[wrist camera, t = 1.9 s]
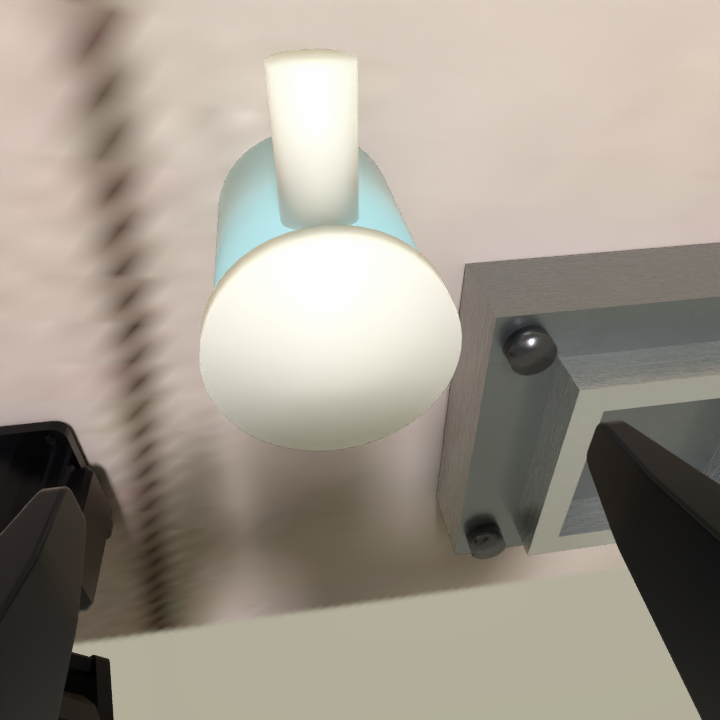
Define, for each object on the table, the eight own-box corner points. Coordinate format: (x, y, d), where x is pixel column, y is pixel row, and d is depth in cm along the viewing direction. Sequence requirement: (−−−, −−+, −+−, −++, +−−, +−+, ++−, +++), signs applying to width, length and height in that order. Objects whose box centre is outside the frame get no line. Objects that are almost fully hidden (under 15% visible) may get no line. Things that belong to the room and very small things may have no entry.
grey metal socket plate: (436, 496, 27) (465, 588, 23) (466, 263, 19) (514, 350, 16) (702, 461, 28) (766, 543, 25) (828, 233, 21) (946, 306, 17)
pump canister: (226, 303, 19) (222, 464, 14) (173, 12, 14) (135, 100, 9) (394, 287, 19) (449, 435, 14) (405, 4, 14) (496, 81, 9)
